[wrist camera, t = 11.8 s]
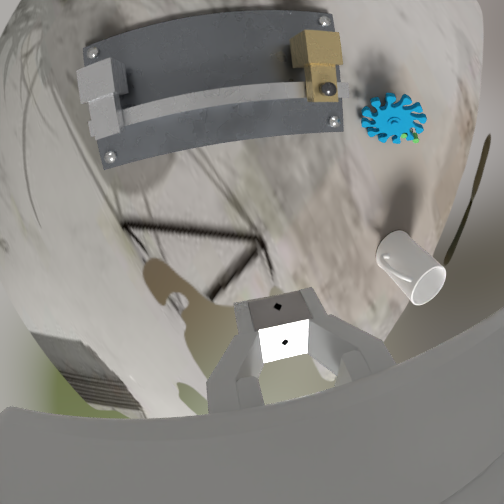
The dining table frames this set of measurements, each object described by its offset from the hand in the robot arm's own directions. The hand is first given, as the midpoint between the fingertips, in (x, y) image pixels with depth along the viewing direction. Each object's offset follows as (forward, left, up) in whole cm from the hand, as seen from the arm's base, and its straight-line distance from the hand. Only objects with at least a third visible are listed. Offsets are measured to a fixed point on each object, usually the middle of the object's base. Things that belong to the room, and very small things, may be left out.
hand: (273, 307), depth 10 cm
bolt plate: (-11, +1, -29) cm, 31 cm away
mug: (+20, +28, -29) cm, 45 cm away
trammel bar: (-11, +1, -28) cm, 30 cm away
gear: (-4, +25, -29) cm, 39 cm away
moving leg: (-11, +12, -28) cm, 32 cm away
